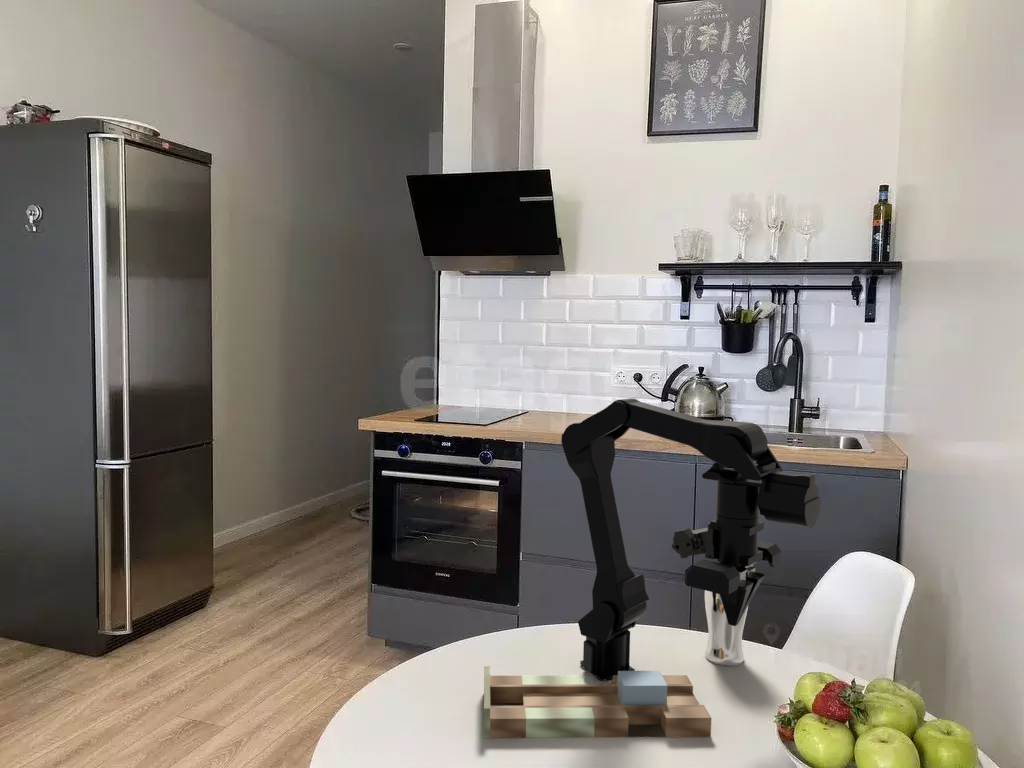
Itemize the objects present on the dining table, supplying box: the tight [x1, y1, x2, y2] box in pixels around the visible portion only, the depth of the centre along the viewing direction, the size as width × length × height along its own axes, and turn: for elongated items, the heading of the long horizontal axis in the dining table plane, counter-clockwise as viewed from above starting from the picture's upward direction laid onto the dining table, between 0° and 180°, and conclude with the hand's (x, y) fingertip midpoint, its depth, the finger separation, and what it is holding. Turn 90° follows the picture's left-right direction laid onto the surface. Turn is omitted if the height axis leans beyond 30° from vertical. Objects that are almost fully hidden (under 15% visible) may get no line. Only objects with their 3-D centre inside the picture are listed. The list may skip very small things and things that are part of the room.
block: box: [617, 670, 667, 705], centre depth 107 cm, size 6×4×4 cm
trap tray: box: [483, 665, 712, 739], centre depth 107 cm, size 30×12×4 cm, turn 92°
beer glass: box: [704, 590, 749, 667], centre depth 125 cm, size 7×7×15 cm
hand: (733, 624), depth 107 cm, fingers closed
